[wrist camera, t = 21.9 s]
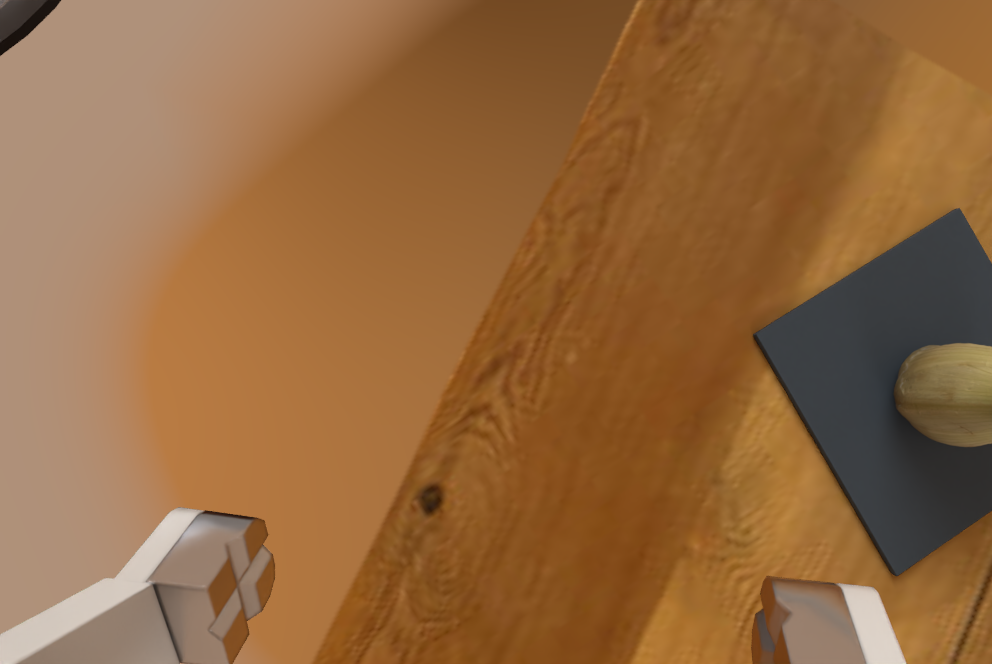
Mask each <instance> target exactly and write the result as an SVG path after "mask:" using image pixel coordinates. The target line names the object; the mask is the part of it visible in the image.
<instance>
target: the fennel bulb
mask: <svg viewBox="0 0 992 664" xmlns="http://www.w3.org/2000/svg"><path fill="white" fill-rule="evenodd" d="M893 395H894V398H895V403H896V408H897V410H898V411H899V412H900V413H901V415H902V416H903V417H905V418H906V419H907V420H908V421H909V422H910V424H911V425H912V426H913V427H914V428H915V429H917V430H918V431H919V432H921V433H922V434H924V435H925V436H927V437H928V438H930V439H932V440H934V441H937V442H940V443H944V444H947V445H952V446H960V447H976V446H982V445H985V444H992V347H991V346H985V345H977V344H971V343H965V344H963V343H955V344H948V345H942V346H939V345H929V346H925V347H922V348H920V349H918V350H916V351H914V352H912V353H911V354H910V355H909V356H908V357H907V358H906V359H905V361H904V362H903V363H902V365H901V367H900V369H899V373H898V379H897V381H896V384H895V387H894V394H893Z"/></svg>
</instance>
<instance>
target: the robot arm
mask: <svg viewBox="0 0 992 664" xmlns="http://www.w3.org/2000/svg"><path fill="white" fill-rule="evenodd" d="M267 536H268V532H267V529H266V525H265V521H264V520H262V519H259V518H254V517H247V516H241V515H233V514H227V513H219V512H212V511H201V510H195V509H188V508H181V507H179V508H176V509H175V510H173V511H171V512H169V513H168V515H167V516H166V517H165V518H164V519H163V520H162V522H161V523H160V524H159V525H158V526H157V528H156V529H155V530H154V531H153V532H152V534H151V535H150V536H149V537H148V539H147V540H146V541H145V542H144V543H143V545H142V546H141V547H140V548H139V549H138V551H137V552H136V553H135V554H134V555H133V557H132V558H131V559H130V560H129V561H128V563H127V564H126V565H125V566H124V567H123V569H122V570H121V571H120V572H119V573H118V575H117V576H116V577H115V578H114V579H112V578H105V579H103V580H101V581H99V582H97V583H95V584H93V585H92V586H90V587H88V588H86V589H84V590H82V591H80V592H78V593H77V594H75V595H73V596H71V597H69V598H67V599H65V600H63V601H62V602H60V603H58V604H56V605H54V606H52V607H51V608H49V609H47V610H45V611H43V612H41V613H39V614H38V615H36V616H34V617H32V618H30V619H28V620H26V621H24V622H22V623H21V624H19V625H17V626H15V627H13V628H11V629H10V630H8V631H6V632H4V633H2V634H0V664H180V663H184V664H233V662H234V660H235V658H236V657H237V655H238V653H239V651H240V650H241V648H242V646H243V644H244V642H245V641H246V639H247V637H248V635H249V629H248V624H247V621H248V620H250V619H251V618H252V617H254V616H256V615H257V614H259V613H260V612H262V610H263V608H264V607H265V605H266V603H267V601H268V599H269V597H270V594H271V590H272V587H273V583H274V580H275V563H274V558H273V554H272V553H271V552H270V551H269V550H268V549H267V548H266V547H265V546H264V545H263V543H264V541H265V540H266V538H267ZM760 595H761V600H762V605H763V609H762V610H761V611H759V612H758V613H756V614H755V619H754V624H753V629H752V647H751V649H752V661H753V664H907V663H906V661H905V658H904V656H903V653H902V651H901V648H900V646H899V643H898V641H897V638H896V636H895V633H894V631H893V628H892V626H891V623H890V621H889V618H888V616H887V613H886V611H885V608H884V606H883V603H882V601H881V598H880V596H879V593H878V592H877V591H876V590H875V589H874V588H873V587H867V586H857V585H848V584H839V583H837V584H834V583H830V582H820V581H811V580H801V579H792V578H782V577H773V576H767V577H766V578H765V580H764V581H763V585H762V589H761V593H760Z"/></svg>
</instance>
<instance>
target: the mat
mask: <svg viewBox="0 0 992 664" xmlns="http://www.w3.org/2000/svg"><path fill="white" fill-rule="evenodd" d="M753 336H754V338H755V339H756V341H757V343H758V345H759V346H760V348H761V350H762V351H763V353H764V355H765V357H766V358H767V360H768V362H769V364H770V365H771V367H772V369H773V370H774V372H775V374H776V376H777V377H778V379H779V381H780V382H781V384H782V386H783V388H784V389H785V391H786V393H787V394H788V396H789V398H790V400H791V401H792V403H793V405H794V407H795V408H796V410H797V412H798V413H799V415H800V417H801V419H802V420H803V422H804V424H805V425H806V427H807V429H808V431H809V432H810V434H811V436H812V437H813V439H814V441H815V443H816V444H817V446H818V448H819V449H820V451H821V453H822V455H823V456H824V458H825V460H826V462H827V463H828V465H829V467H830V468H831V470H832V472H833V474H834V475H835V477H836V479H837V480H838V482H839V484H840V486H841V487H842V489H843V491H844V492H845V494H846V496H847V498H848V499H849V501H850V503H851V504H852V506H853V508H854V510H855V511H856V513H857V515H858V517H859V518H860V520H861V522H862V523H863V525H864V527H865V529H866V530H867V532H868V534H869V535H870V537H871V539H872V541H873V542H874V544H875V546H876V547H877V549H878V551H879V553H880V554H881V556H882V558H883V560H884V561H885V563H886V565H887V566H888V568H889V570H890V572H891V573H892V574H893V575H895V576H898V575H900V574H901V573H902V572H904V571H905V570H907V569H908V568H910V567H911V566H913V565H914V564H915V563H917V562H918V561H920V560H921V559H923V558H924V557H925V556H927V555H928V554H930V553H931V552H933V551H934V550H936V549H937V548H938V547H940V546H941V545H943V544H944V543H946V542H947V541H949V540H950V539H951V538H953V537H954V536H956V535H957V534H959V533H960V532H962V531H963V530H964V529H966V528H967V527H969V526H970V525H972V524H973V523H975V522H976V521H977V520H979V519H980V518H982V517H983V516H985V515H986V514H988V513H989V512H990V511H992V444H985V445H982V446H976V447H960V446H952V445H947V444H944V443H940V442H937V441H934V440H932V439H930V438H928V437H927V436H925V435H924V434H922V433H921V432H919V431H918V430H917V429H915V428H914V427H913V426H912V425H911V424H910V422H909V421H908V420H907V419H906V418H905V417H903V416H902V415H901V413H900V412H899V411H898V410H897V408H896V403H895V398H894V395H893V394H894V387H895V384H896V381H897V379H898V373H899V369H900V367H901V365H902V363H903V362H904V361H905V359H906V358H907V357H908V356H909V355H910V354H911V353H912V352H914V351H916V350H918V349H920V348H922V347H925V346H929V345H939V346H942V345H948V344H955V343H963V344H965V343H971V344H977V345H985V346H991V347H992V263H991V262H990V260H989V258H988V256H987V255H986V253H985V251H984V250H983V248H982V246H981V244H980V243H979V241H978V239H977V237H976V236H975V234H974V232H973V230H972V229H971V227H970V225H969V223H968V222H967V220H966V218H965V216H964V215H963V213H962V211H961V210H960V208H958V209H954V210H953V211H951V212H949V213H948V214H946V215H944V216H943V217H941V218H940V219H938V220H936V221H935V222H933V223H932V224H930V225H928V226H927V227H925V228H924V229H922V230H920V231H919V232H917V233H916V234H914V235H912V236H911V237H909V238H907V239H906V240H904V241H903V242H901V243H899V244H898V245H896V246H895V247H893V248H891V249H890V250H888V251H887V252H885V253H883V254H882V255H880V256H879V257H877V258H875V259H874V260H872V261H871V262H869V263H867V264H866V265H864V266H862V267H861V268H859V269H858V270H856V271H854V272H853V273H851V274H850V275H848V276H846V277H845V278H843V279H842V280H840V281H838V282H837V283H835V284H834V285H832V286H830V287H829V288H827V289H825V290H824V291H822V292H821V293H819V294H817V295H816V296H814V297H813V298H811V299H809V300H808V301H806V302H805V303H803V304H801V305H800V306H798V307H797V308H795V309H793V310H792V311H790V312H788V313H787V314H785V315H784V316H782V317H780V318H779V319H777V320H776V321H774V322H772V323H771V324H769V325H768V326H766V327H764V328H763V329H761V330H760V331H758V332H756V333H755V334H753Z"/></svg>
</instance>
